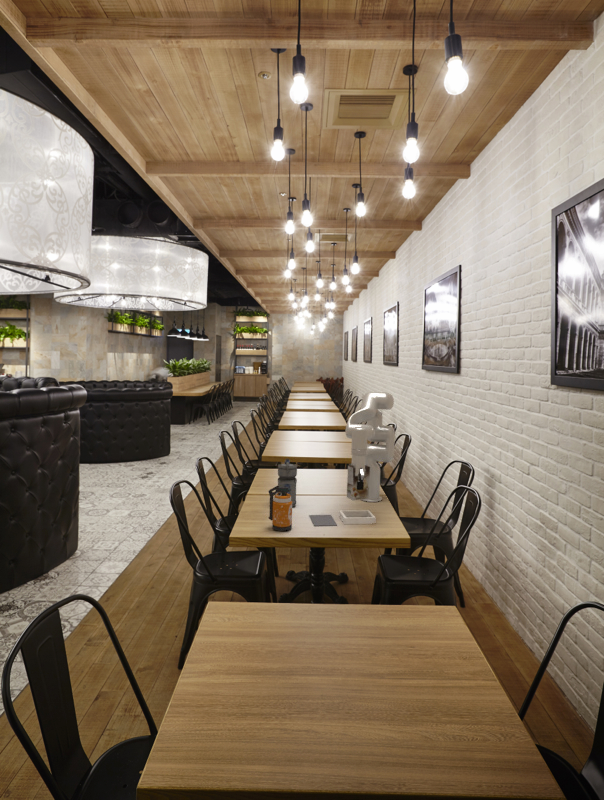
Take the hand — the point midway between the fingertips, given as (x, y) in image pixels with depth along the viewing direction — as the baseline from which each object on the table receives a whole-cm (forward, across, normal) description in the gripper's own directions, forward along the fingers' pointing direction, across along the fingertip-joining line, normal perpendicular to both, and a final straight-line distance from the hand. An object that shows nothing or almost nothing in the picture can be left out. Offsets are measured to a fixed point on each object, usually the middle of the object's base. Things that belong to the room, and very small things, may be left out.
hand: (358, 487), depth 248 cm
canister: (+16, +11, -39) cm, 44 cm away
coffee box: (+6, 0, 0) cm, 6 cm away
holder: (+16, +1, 0) cm, 16 cm away
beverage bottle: (+17, -26, -32) cm, 45 cm away
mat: (+16, +1, -17) cm, 24 cm away
